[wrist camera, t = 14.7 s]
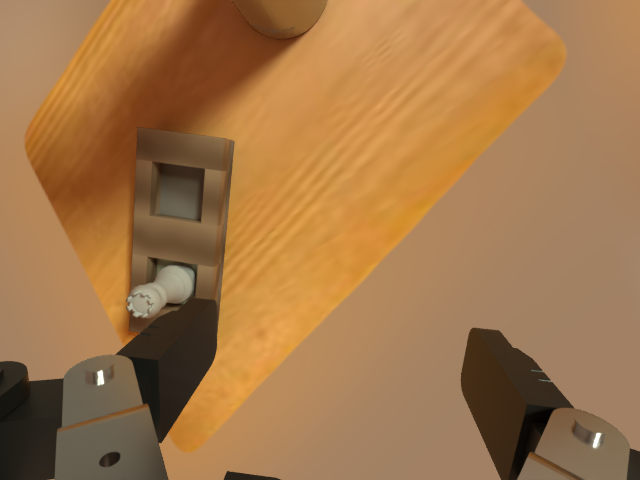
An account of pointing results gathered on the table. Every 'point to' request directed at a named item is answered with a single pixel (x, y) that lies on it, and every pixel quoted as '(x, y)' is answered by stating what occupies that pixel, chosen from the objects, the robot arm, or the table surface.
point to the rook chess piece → (163, 290)
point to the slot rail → (180, 211)
